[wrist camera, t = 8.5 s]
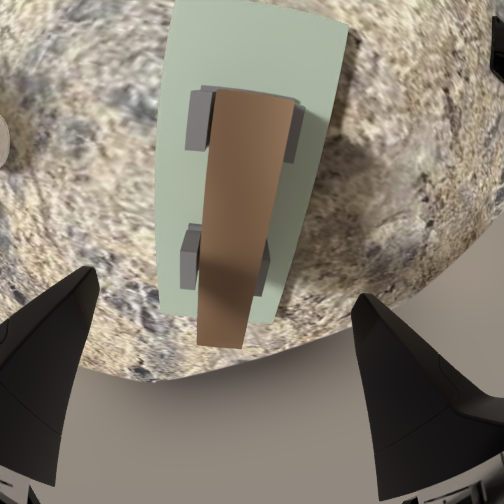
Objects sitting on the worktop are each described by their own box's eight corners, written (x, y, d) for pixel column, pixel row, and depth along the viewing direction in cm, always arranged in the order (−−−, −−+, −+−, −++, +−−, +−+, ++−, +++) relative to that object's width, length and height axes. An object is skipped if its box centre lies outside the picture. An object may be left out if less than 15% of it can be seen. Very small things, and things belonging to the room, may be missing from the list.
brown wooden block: (270, 94, 13) (294, 101, 7) (240, 268, 20) (241, 348, 14) (227, 88, 13) (216, 89, 7) (206, 265, 20) (196, 345, 14)
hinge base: (342, 28, 12) (370, 16, 8) (271, 314, 25) (275, 349, 22) (180, 3, 10) (163, -18, 7) (163, 303, 24) (154, 338, 20)
